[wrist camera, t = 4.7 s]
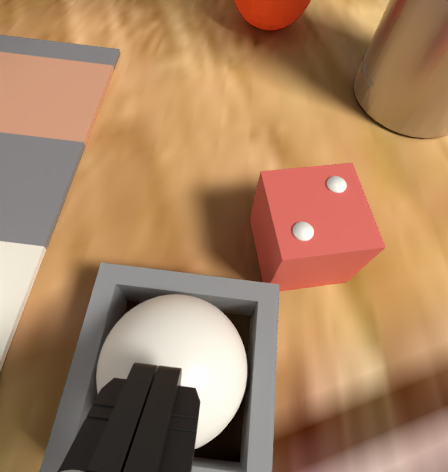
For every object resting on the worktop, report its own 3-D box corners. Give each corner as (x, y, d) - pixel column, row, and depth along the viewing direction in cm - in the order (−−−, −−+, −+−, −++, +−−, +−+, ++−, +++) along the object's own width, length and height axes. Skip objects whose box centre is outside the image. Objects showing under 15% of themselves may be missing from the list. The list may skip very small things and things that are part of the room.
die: (323, 210, 23) (353, 161, 18) (346, 282, 21) (386, 246, 16) (249, 218, 22) (261, 170, 18) (265, 293, 20) (282, 259, 16)
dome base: (269, 301, 20) (279, 284, 17) (259, 491, 16) (270, 507, 13) (114, 282, 20) (100, 262, 17) (65, 466, 16) (37, 478, 13)
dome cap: (245, 320, 19) (261, 284, 14) (234, 454, 17) (249, 478, 11) (131, 306, 19) (101, 264, 14) (101, 437, 17) (47, 452, 11)
